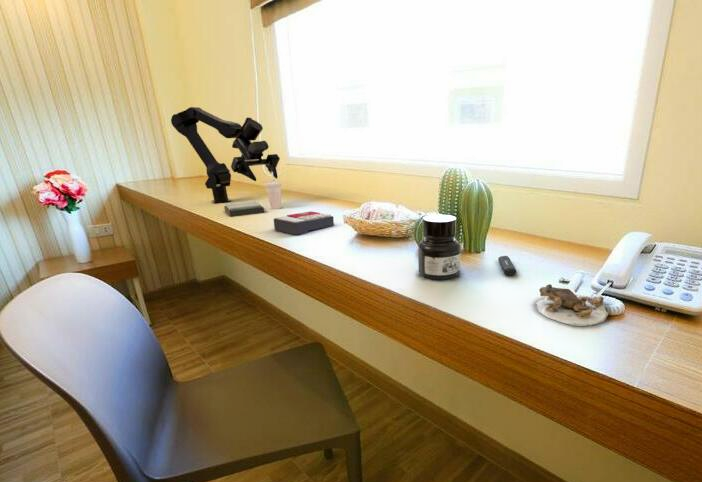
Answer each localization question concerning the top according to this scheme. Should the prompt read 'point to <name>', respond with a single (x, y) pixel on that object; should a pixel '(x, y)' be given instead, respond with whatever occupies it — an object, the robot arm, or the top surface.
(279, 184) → the smoothie
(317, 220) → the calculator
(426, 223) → the ink bottle
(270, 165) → the robot arm
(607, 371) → the top surface
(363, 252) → the top surface
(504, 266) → the usb stick
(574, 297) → the frog figurine
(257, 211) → the scale
